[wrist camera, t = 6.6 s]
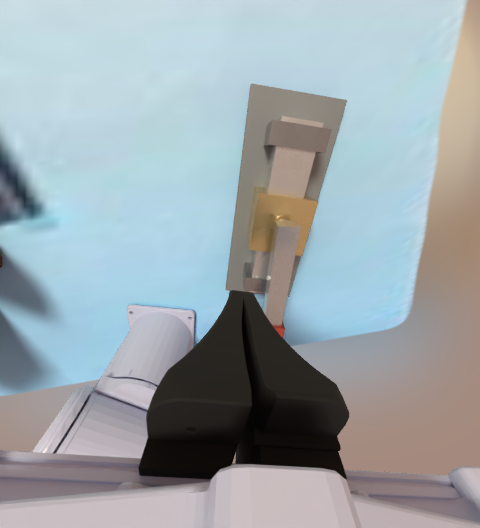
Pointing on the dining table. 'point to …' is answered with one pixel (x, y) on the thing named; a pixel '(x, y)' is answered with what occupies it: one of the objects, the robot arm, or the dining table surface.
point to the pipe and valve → (283, 191)
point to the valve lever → (280, 271)
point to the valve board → (257, 155)
